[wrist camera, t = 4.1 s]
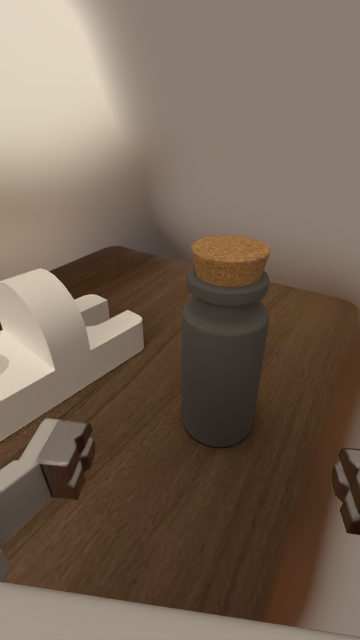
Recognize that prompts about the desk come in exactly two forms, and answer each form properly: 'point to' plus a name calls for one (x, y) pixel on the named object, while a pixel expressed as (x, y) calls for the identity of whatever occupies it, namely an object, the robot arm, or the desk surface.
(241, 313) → the bottle
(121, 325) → the white slotted bracket
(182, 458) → the desk surface
